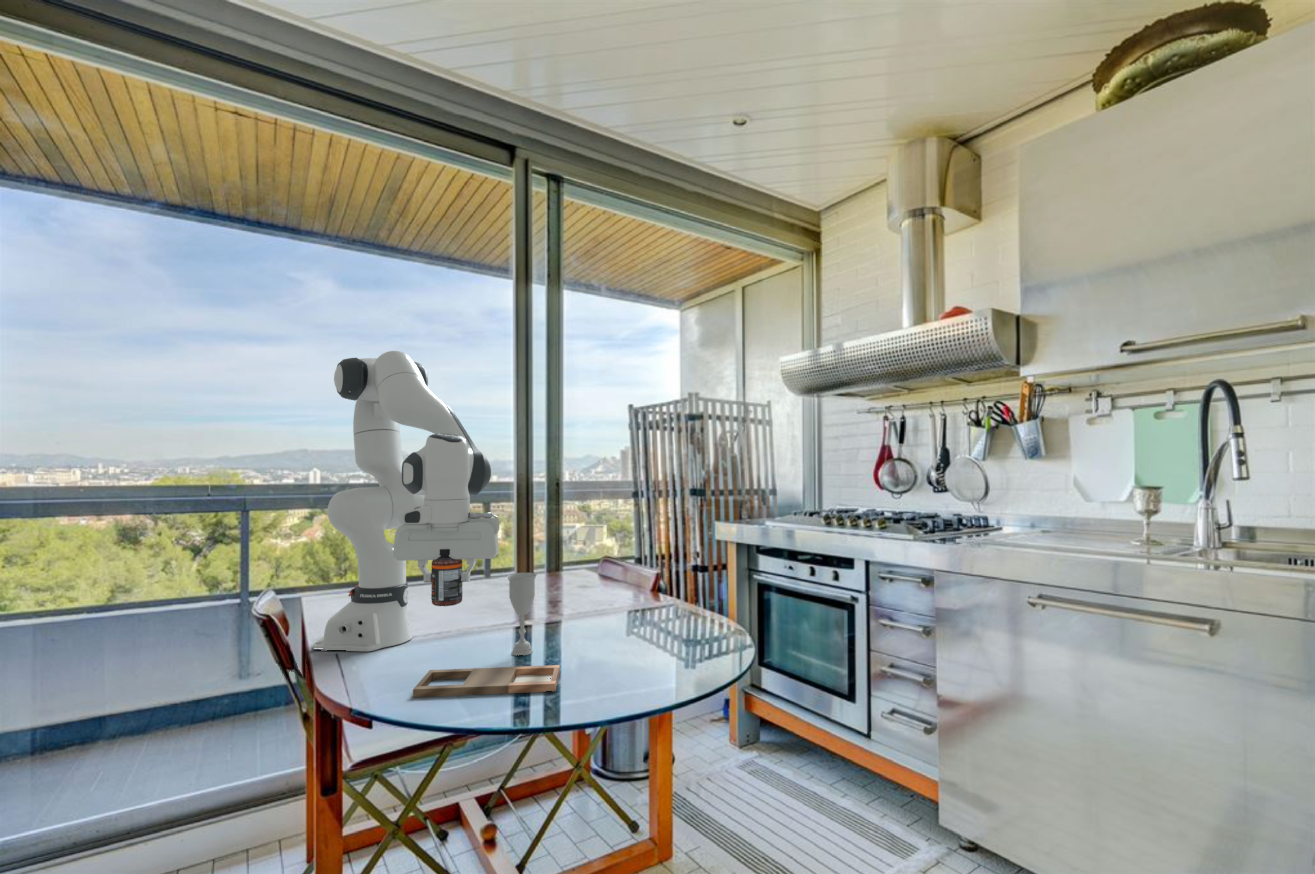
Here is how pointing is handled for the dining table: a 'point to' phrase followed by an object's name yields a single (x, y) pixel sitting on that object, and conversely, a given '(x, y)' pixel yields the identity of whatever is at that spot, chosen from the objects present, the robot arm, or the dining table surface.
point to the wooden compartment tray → (490, 681)
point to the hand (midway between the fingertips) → (447, 581)
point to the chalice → (522, 605)
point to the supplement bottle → (446, 580)
